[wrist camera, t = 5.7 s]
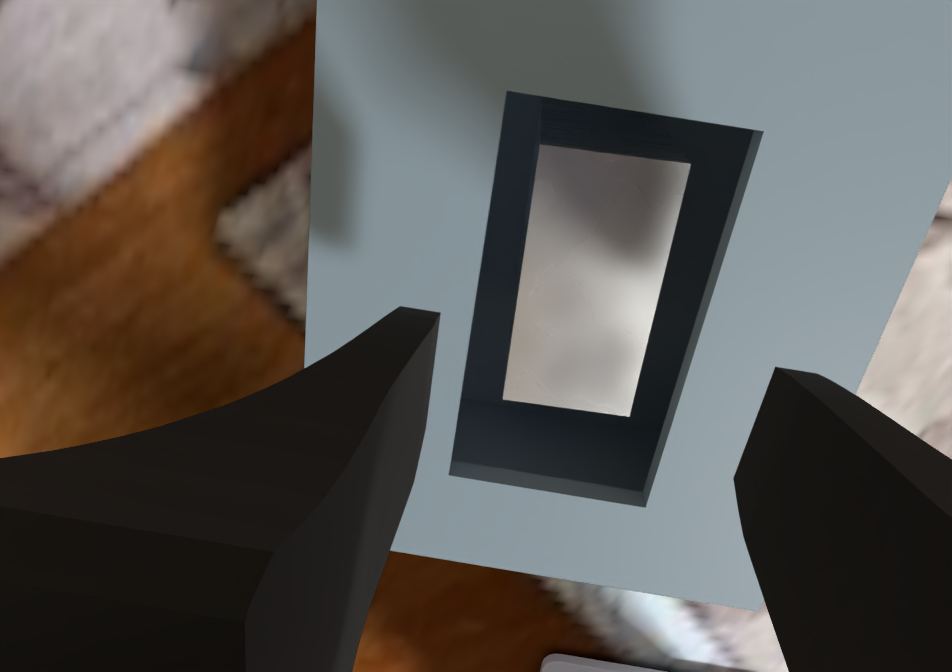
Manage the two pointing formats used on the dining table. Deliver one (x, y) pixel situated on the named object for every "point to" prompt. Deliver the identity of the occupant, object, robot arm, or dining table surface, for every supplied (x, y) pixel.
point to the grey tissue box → (688, 266)
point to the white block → (591, 255)
